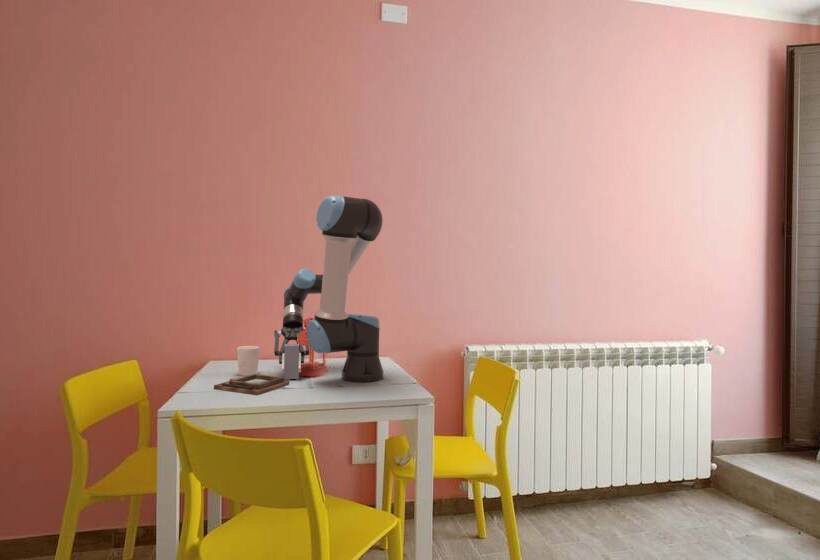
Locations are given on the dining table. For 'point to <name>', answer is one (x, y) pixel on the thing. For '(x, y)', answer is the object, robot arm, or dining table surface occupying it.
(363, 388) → the dining table surface
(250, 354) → the white cup
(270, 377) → the brown wooden frame
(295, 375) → the block
